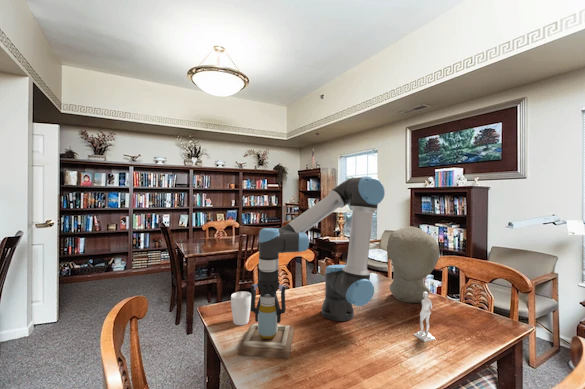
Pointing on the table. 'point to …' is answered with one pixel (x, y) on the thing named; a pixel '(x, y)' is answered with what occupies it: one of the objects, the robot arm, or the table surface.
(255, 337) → the plinth
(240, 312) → the cup
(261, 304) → the bottle
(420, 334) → the figurine
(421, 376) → the table surface
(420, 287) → the bust
